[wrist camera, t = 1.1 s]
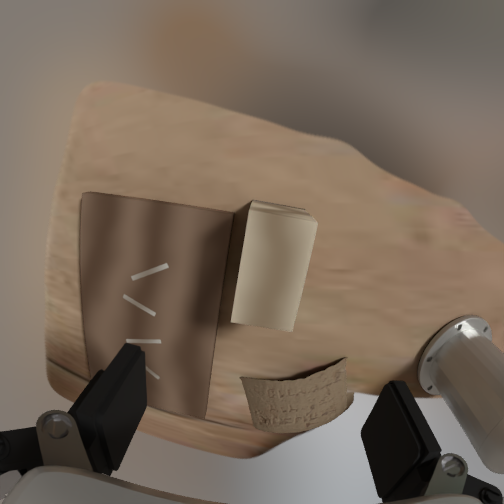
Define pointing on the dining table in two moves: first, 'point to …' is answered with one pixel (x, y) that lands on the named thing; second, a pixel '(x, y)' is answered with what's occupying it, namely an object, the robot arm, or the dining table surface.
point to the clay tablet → (298, 400)
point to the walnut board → (154, 291)
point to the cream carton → (273, 265)
